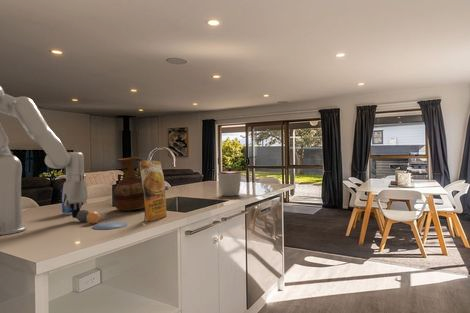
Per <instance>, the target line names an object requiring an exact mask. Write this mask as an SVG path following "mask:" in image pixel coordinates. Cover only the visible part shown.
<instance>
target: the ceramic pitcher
mask: <svg viewBox="0 0 470 313" xmlns="http://www.w3.org/2000/svg"><path fill="white" fill-rule="evenodd" d="M143 160H144V159H142V158H140V157H138V156H133V157H126V158H125V157H124V158H119V159H117V161H118V162H119V163H120V164H121V171H122V173H123V176H122V179H121V180H119V182H118V183H117V184H116V187H115V190H114V193H113V203H114V204H113V205H114V207H115V208H116V209H117V210H119V211H136V210H140V209H143V208H145V205H144V193H143V189H142V185H141V176H139V177H138V176H137V175H136V172H135V163H136V162H137V161H139V163H140V162H141V161H143Z"/></svg>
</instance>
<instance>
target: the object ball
mask: <svg viewBox="0 0 470 313" xmlns="http://www.w3.org/2000/svg"><path fill="white" fill-rule="evenodd" d="M86 219H87V221H86V222H87V223H89V224H91V225H92V224H94V225H95V224H96V223H98V222H99V221H100V219H101V215H100V212H98V211H95V210H92V211H89V213H88V215H87V217H86Z"/></svg>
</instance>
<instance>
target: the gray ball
mask: <svg viewBox="0 0 470 313" xmlns="http://www.w3.org/2000/svg"><path fill="white" fill-rule="evenodd" d="M88 213H90V211H88V210H87V209H80V211H79V212H78V213H77V218H76V219H77V221H79V222H80V223H81V222H82V223H83V222H88V221H87V219H86V217H87V215H88Z"/></svg>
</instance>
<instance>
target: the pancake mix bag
mask: <svg viewBox="0 0 470 313" xmlns="http://www.w3.org/2000/svg"><path fill="white" fill-rule="evenodd" d="M142 160H143V161H141V162H140V161H139V164H138V165H139V168H138V169H139V174H140V177H141V185H142V189H143V193H144V205H145V207H144V217H143V218H144V219H143V221H144V222H153V221H157V220H160V219H163V218H166V217H167V216H168V215H167V201H166V200H167V199H166V182H165V176H164V171H163V168H162V167H163V166H162V162H161V160H150V159H149V160H146V159H142Z"/></svg>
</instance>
